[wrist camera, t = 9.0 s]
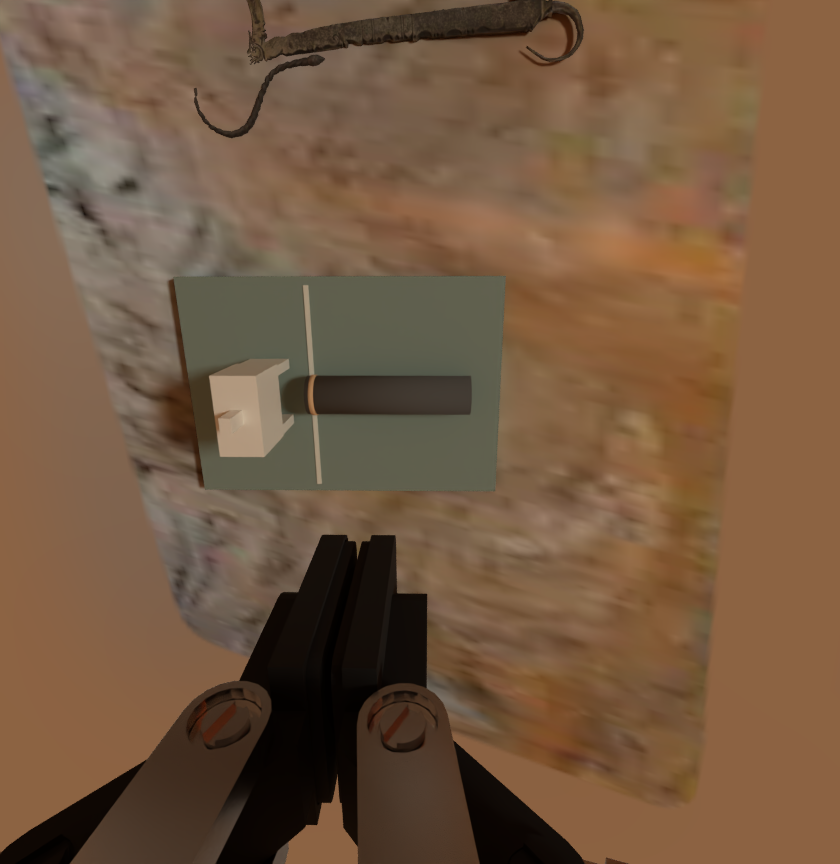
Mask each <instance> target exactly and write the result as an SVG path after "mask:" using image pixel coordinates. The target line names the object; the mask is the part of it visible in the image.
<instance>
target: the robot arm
mask: <svg viewBox="0 0 840 864" xmlns="http://www.w3.org/2000/svg"><path fill="white" fill-rule="evenodd" d="M337 774H338V785H339V798H340V803H342V812H343V827H344V829H345V830H346V832H347V833H348V834H349V836H350V837H351V838H352V840H353V841H354V842H355V844H356V845H357V846H358V864H597V863H593V862H590V861H586V860H583V859H582V857H581V856H580V855H579V854H578V853H577V852H576V851H575V849H574V848H573V847H572V846H571V845H570V844H569V843H568V842H567V841H566V840H565V839H564V838H563V837H562V836H561V835H560V834H558V833H557V832H556V831H555V830H554V829H552V827H550V826H549V825H548V824H547V823H546V822H545V821H544V820H543V819H541V818H540V817H539V816H538V815H537V814H536V813H535V812H533V811H532V810H531V809H530V808H529V807H528V806H527V805H526V804H525V803H523V802H522V801H521V800H520V799H519V798H518V797H517V796H515V795H514V794H513V793H512V792H511V791H510V790H509V789H508V788H506V787H505V786H504V785H503V784H502V783H501V782H500V781H499V780H497V779H496V778H495V777H494V776H493V775H492V774H491V773H489V772H488V771H487V770H486V769H485V768H484V767H483V766H482V765H480V764H479V763H478V762H477V761H476V760H475V759H474V758H473V757H472V756H470V755H469V754H468V753H467V752H466V751H465V750H464V749H463V748H461V747H460V746H459V745H458V744H457V743H456V742H455V741H453V737H452V733H451V728H450V723H449V719H448V714H447V712H446V709H445V707H444V704H443V702H442V701H441V700H440V699H439V698H438V697H437V695H436V694H435V693H433V692H431V691H430V690H428V689H427V594H398V593H397V572H396V537H395V535H372V536H371V539H370V541H363V542H362V544H361V547H360V551H359V555H358V559H357V548H356V542H355V541H348V538H347V535H322V536H321V538H320V541H319V543H318V546H317V548H316V551H315V553H314V555H313V558H312V560H311V563H310V565H309V567H308V570H307V572H306V575H305V577H304V580H303V582H302V584H301V587H300V589H299V592H283V593H281V594H280V596H279V597H278V599H277V601H276V603H275V606H274V608H273V610H272V612H271V614H270V616H269V618H268V620H267V623H266V625H265V627H264V629H263V631H262V633H261V635H260V638H259V640H258V642H257V644H256V646H255V648H254V650H253V652H252V655H251V657H250V659H249V661H248V663H247V666H246V667H245V670H244V672H243V674H242V676H241V678H240V680H239V681H232V682H228V683H224V684H220V685H217V686H215V687H213V688H211V689H209V690H206V691H205V692H204V693H202V694H201V695H199V696H198V697H197V698H195V699H194V700H193V701H192V702H191V703H190V704H189V705H188V706H187V707H186V708H185V709H184V710H183V712H182V713H181V715H180V716H179V718H178V719H177V720H176V721H175V723H174V724H173V725H172V727H171V728H170V730H169V731H168V732H167V733H166V735H165V736H164V738H163V739H162V740H161V742H160V743H159V744H158V746H157V747H156V748H155V750H154V751H153V752H152V754H151V755H150V756H149V758H148V759H147V760H145V761H144V762H142V763H141V764H139V765H137V766H135V767H134V768H132V769H130V770H129V771H127V772H126V773H124V774H122V775H120V776H119V777H117V778H115V779H114V780H112V781H111V782H109V783H108V784H106V785H104V786H102V787H101V788H99V789H97V790H96V791H94V792H92V793H91V794H89V795H87V796H86V797H84V798H83V799H81V800H79V801H77V802H76V803H74V804H72V805H71V806H69V807H68V808H66V809H64V810H62V811H61V812H59V813H58V814H56V815H54V816H53V817H51V818H49V819H48V820H46V821H44V822H43V823H41V824H39V825H38V826H36V827H34V828H33V829H31V830H29V831H28V832H27V833H25V834H24V835H22V836H21V837H20V838H19V839H17V840H16V841H14V842H13V843H11V844H10V845H9V846H8V847H6V849H4V850H3V851H2V852H0V864H285V862H286V857H287V853H288V849H289V848H288V842H289V841H290V840H291V839H292V838H293V837H294V836H295V835H297V834H298V833H299V832H300V831H301V830H303V829H304V828H305V826H306V825H317V824H318V819H319V814H320V809H321V804H322V803H331V802H332V799H333V795H334V790H335V785H336V780H337ZM605 864H628V863H624V862H621V861H617V860H613V859H610V858H606V861H605Z"/></svg>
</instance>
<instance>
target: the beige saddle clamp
mask: <svg viewBox="0 0 840 864" xmlns="http://www.w3.org/2000/svg"><path fill="white" fill-rule="evenodd" d="M288 369H289V359H249V360H247V361H245V362H242V363H240V364H234V365H232V366H230V367H227V368H225V369H223V370H221V371H219V372H216V373H214V374H212V375H210V376H209V379H210V387H211V394H212V401H213V409H214V416H215V424H216V431H217V438H218V446H219V453H220V457H265V456H266V455H267V454H268V453H269V452H270V450H271V449H272V448H273V447H274V446H275V445H276V444H277V443H278V442H279V441H280V440H281V438H282V437H283V436H284V433H285V432H286V431H287V430H288V429H289V428H290V427H291V426H292V425H293V424H294V415H293V414H282V412H281V401H280V390H279V379H278V375H280V374H282V373H283V372H285V371H286V370H288Z"/></svg>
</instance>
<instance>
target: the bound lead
mask: <svg viewBox="0 0 840 864" xmlns="http://www.w3.org/2000/svg"><path fill="white" fill-rule="evenodd" d="M304 404H305V409H306V412H307V413H308V414H312V415H319V414H387V415H470V414H471V404H472V382H471V376H322V375H308V376H307V377H306V379H305V383H304Z"/></svg>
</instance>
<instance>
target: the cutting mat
mask: <svg viewBox="0 0 840 864" xmlns="http://www.w3.org/2000/svg"><path fill="white" fill-rule="evenodd" d="M173 278H174V285H175V292H176V299H177V305H178V312H179V319H180V325H181V332H182V339H183V346H184V352H185V359H186V366H187V372H188V379H189V386H190V393H191V399H192V406H193V413H194V419H195V426H196V433H197V439H198V446H199V453H200V460H201V466H202V473H203V480H204V486H205V489H224V490H378V491H495V483H496V463H497V442H498V422H499V401H500V381H501V360H502V340H503V319H504V299H505V278H506V276H314V277H173ZM249 359H289V369H288V370H286V371H285V372H283V373H282V374H280V375H278V379H279V390H280V401H281V412H282V414H293V415H294V424H293V425H292V426H291V427H290V428H289V429H288V430H287V431H286V432H285V433H284V436H283V437H282V438H281V440H280V441H279V442H278V443H277V444H276V445H275V446H274V447H273V448H272V449H271V450H270V452H269V453H268V454H267V455H266V456H265V457H220V453H219V446H218V438H217V431H216V424H215V416H214V409H213V401H212V394H211V387H210V379H209V376H210V375H212V374H214V373H216V372H219V371H221V370H223V369H225V368H227V367H230V366H232V365H234V364H240V363H242V362H245V361H247V360H249ZM308 375H322V376H471V382H472V404H471V414H470V415H387V414H319V415H312V414H308V413H307V412H306V409H305V404H304V383H305V379H306V377H307V376H308Z"/></svg>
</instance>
